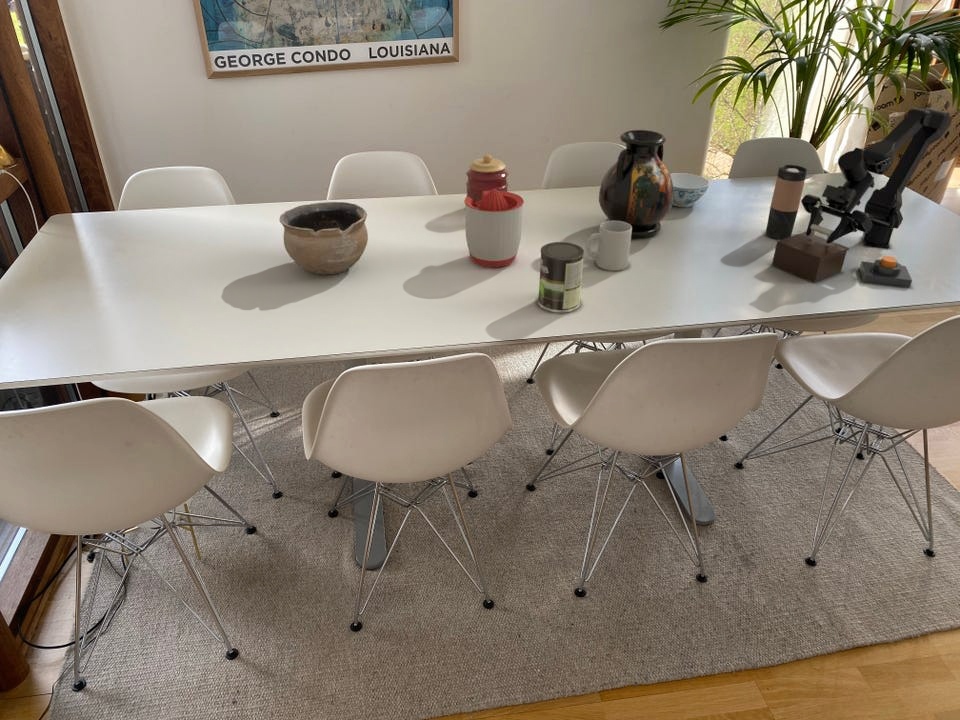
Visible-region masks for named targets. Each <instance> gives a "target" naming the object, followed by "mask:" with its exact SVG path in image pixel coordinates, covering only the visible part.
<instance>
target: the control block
mask: <svg viewBox="0 0 960 720" xmlns="http://www.w3.org/2000/svg"><path fill="white" fill-rule="evenodd" d="M881 260H882V258H880V259H878V258H877V259H876V260H874V261H873V262H871V261H861V262H860V265H859V273H860V275H861V278H862V282H863V283H865V284H872V285H873V284H875V285H881V286H882V285H883V286H890V287H900V288H906V289H907V288H908V289H910V288H911V286H912V282H913V279H912V277H911V274H910V272H909V270H908V268H907V266H906V265H902V264H901V263H899V262H897V263H896V266H895V267H894V268H889V267H885V266H882V265H880V263H881Z"/></svg>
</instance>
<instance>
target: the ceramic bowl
mask: <svg viewBox="0 0 960 720" xmlns="http://www.w3.org/2000/svg"><path fill="white" fill-rule="evenodd" d="M367 216H368V213H367V211H366V210H365V209H364V208H363V206H360V205H359V204H356V203H352V202H346V201H326V202H317V203H316V202H315V203H310V204H301V205H298V206H294V207H293V208H291V209H289V210H286V211H285V212H283V213H282V214H280V216H279V219H278V221H279V223H280V225H282V227H283V245H284V249H285V252H287V254H288V256H289V257H290V258H291V259H292V260H293V261H294V262H295V263H296V264H297V265H298V266H299V267H301V268H303V269H304V270H306V271H308V272H310V273H311V274H312V273H313V274H316V275H336V274H337V275H338V274H340V273H344V272H346V271H348V270H349V269H351V268H352V267H353V266H354V265H355V264H357V262H358V261H359V260H360V259H361V257H362V255H363V254H364V252H365V250H366V247H367V246H368V240H369V234H368V228H367V226H366V225H367V224H366V220H367Z"/></svg>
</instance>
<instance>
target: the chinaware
mask: <svg viewBox="0 0 960 720" xmlns="http://www.w3.org/2000/svg"><path fill="white" fill-rule="evenodd" d="M670 175H671V178H672V182H673V191H674V199H673V205H672V206H675V207H678V208H689V207H691V206H693V204H694V203H696V202H698V201H699V200H700V199H701V198H703V196H704V195H705V193H706V192H707V190H708V188H709V185H710V181H709V180H708V179H707V178H706V177H704V176H701V175H698V174H693V173H685V172H674V173H670Z"/></svg>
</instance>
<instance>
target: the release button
mask: <svg viewBox="0 0 960 720" xmlns="http://www.w3.org/2000/svg"><path fill="white" fill-rule="evenodd" d="M881 259H882V260H881V263H880V265H882V266H885V267H889V268H894V267H895V266H896V263H898V259H897V258H895V257H893V256H887V255H885V256H882V257H881Z"/></svg>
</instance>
